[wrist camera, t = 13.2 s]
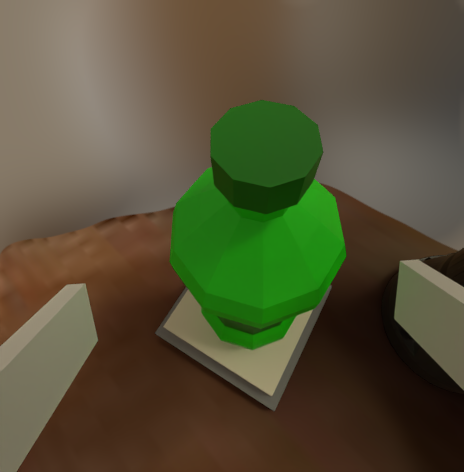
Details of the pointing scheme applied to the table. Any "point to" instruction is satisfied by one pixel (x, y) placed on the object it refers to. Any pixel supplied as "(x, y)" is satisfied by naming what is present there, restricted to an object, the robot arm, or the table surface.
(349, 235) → the table surface
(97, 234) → the table surface
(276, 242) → the plastic bottle
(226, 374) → the stepped plinth
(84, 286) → the robot arm
